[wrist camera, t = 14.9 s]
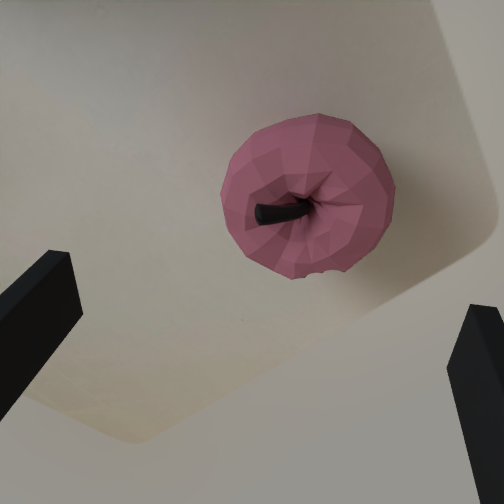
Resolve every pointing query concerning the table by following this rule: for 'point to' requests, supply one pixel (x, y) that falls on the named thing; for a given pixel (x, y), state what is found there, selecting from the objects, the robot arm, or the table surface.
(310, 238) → the apple
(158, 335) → the table surface
